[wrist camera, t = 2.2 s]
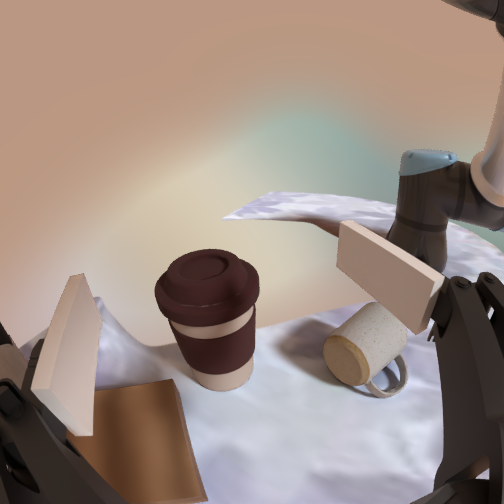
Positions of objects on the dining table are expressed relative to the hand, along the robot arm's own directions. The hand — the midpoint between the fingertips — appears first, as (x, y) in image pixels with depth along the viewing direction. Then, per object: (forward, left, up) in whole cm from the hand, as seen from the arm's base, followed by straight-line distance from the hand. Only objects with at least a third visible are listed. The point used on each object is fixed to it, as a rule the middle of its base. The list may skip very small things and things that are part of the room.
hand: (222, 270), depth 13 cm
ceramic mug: (-16, -3, -21) cm, 27 cm away
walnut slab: (+13, -2, -20) cm, 24 cm away
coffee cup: (0, -11, -21) cm, 23 cm away
